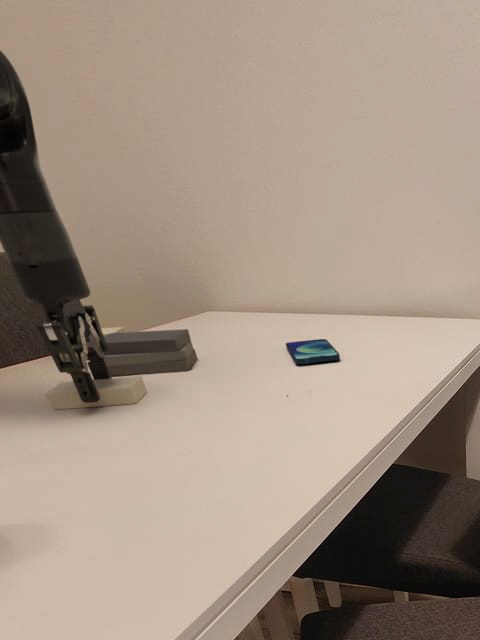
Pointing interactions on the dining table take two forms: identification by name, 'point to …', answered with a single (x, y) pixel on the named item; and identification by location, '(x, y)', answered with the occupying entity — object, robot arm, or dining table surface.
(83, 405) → the beige flat block
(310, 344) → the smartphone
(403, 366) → the dining table surface
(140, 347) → the grey stack
